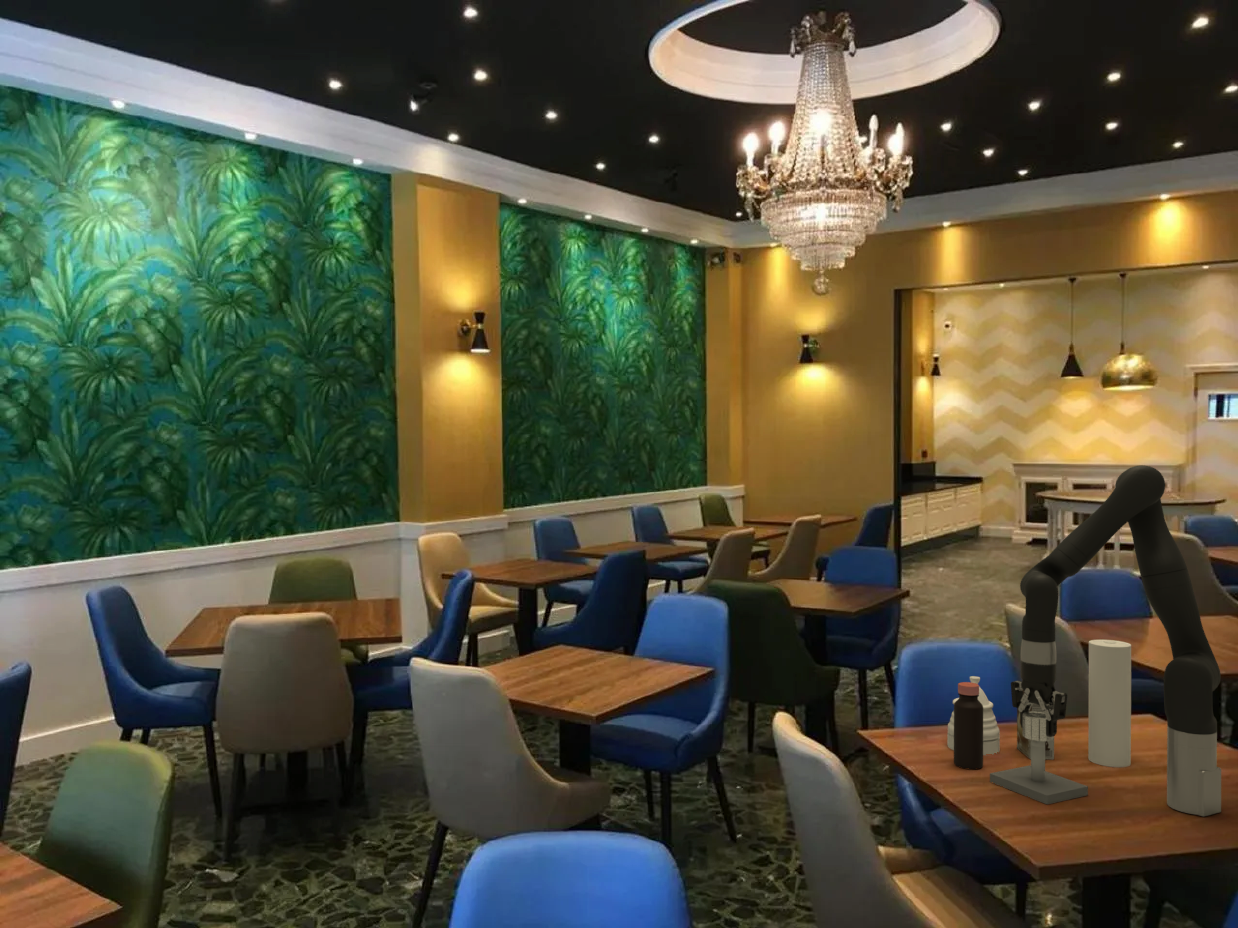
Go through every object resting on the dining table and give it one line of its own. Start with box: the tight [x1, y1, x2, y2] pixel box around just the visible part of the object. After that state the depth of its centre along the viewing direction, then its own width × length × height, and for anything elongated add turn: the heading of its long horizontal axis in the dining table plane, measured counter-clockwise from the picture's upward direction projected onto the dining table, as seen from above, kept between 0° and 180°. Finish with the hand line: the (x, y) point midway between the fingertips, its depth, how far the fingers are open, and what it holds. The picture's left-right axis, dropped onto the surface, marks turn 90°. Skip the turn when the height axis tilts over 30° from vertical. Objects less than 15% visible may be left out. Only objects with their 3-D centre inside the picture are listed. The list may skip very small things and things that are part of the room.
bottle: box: [953, 681, 984, 770], centre depth 235 cm, size 7×7×20 cm
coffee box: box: [1016, 691, 1055, 760], centre depth 243 cm, size 9×6×16 cm
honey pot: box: [946, 675, 1001, 756], centre depth 249 cm, size 13×13×18 cm
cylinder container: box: [1087, 639, 1132, 768], centre depth 238 cm, size 9×9×30 cm
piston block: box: [989, 740, 1089, 805], centre depth 219 cm, size 16×13×12 cm
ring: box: [1023, 711, 1055, 741], centre depth 218 cm, size 6×6×5 cm
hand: (1038, 731), depth 219 cm, fingers closed on ring, 6 cm apart
